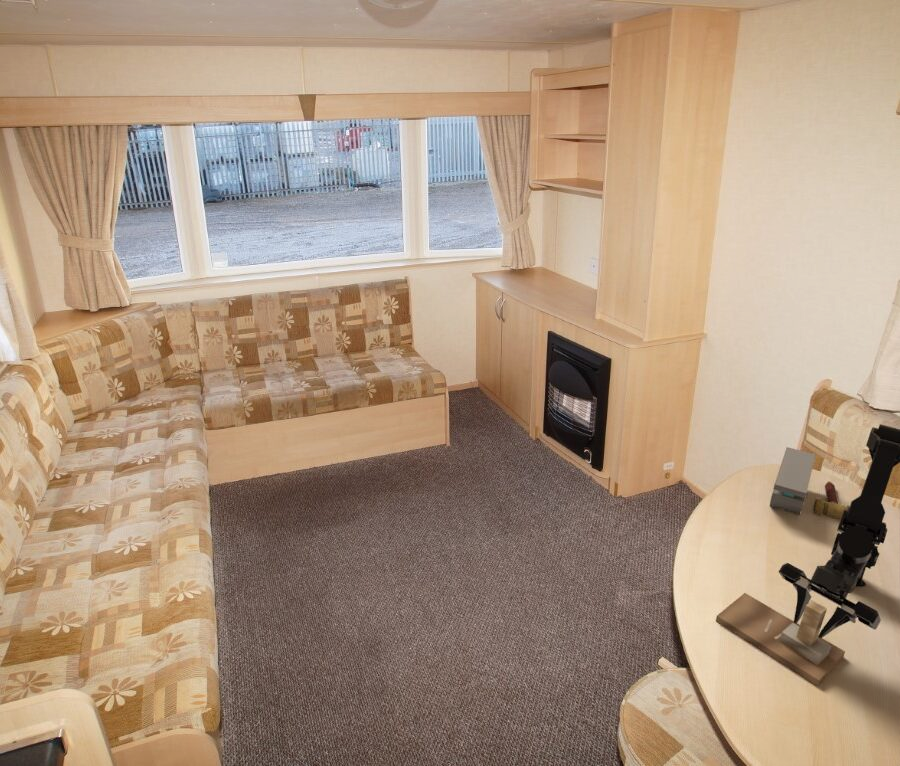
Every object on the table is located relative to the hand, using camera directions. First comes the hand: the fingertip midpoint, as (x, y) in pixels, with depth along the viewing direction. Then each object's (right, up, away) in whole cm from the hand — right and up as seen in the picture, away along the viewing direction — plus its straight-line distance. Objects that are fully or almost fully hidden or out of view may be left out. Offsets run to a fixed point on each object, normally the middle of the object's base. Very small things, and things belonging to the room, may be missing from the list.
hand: (806, 630), depth 132 cm
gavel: (+38, +15, +57) cm, 70 cm away
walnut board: (-2, -5, +7) cm, 9 cm away
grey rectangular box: (+25, +16, +56) cm, 64 cm away
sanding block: (+1, -5, +3) cm, 6 cm away
